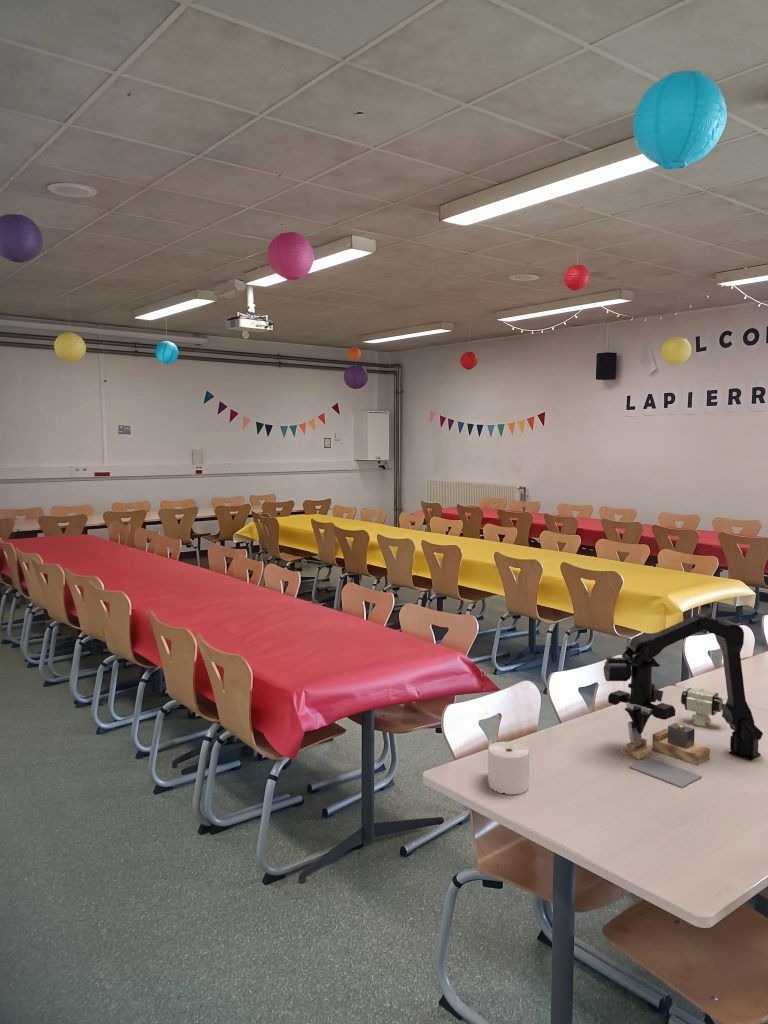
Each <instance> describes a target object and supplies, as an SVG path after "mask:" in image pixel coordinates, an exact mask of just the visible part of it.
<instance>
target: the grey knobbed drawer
mask: <svg viewBox="0 0 768 1024" xmlns="http://www.w3.org/2000/svg"><path fill="white" fill-rule="evenodd" d="M667 729H668V743H671V744H674V745H677V746H680V747H682V748H685V749H688V748H690V747H692V746H694V743H695V728H693V727H691V726H687V725H685V724H683V723H678V722H673V723H672V724H669V725H667Z"/></svg>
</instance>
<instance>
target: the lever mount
mask: <svg viewBox="0 0 768 1024" xmlns="http://www.w3.org/2000/svg"><path fill="white" fill-rule="evenodd" d="M652 752H653V749H652V747H648V746H647V739H645V738H642V745H641V746H639V747H637V748H635V745H634V744H631V743H630V742H628V743H627V744H626V745H624V746H622V747H621V754H623V755H626V756H628V757H631V758H634V759H637V760H639V761H641V760H643V759H645V758H648V757H650V756H651V755H653V754H652Z"/></svg>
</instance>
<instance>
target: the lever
mask: <svg viewBox="0 0 768 1024" xmlns="http://www.w3.org/2000/svg"><path fill="white" fill-rule="evenodd" d="M627 727H628V736H629V741H630V742H629V743H631V744H634V745H635V748H637V747H639V746H641V745H642V739H643V738H642V733H641V734H640V733H638V732H637V729H636V727H635V725H634V723H633V721H632V720H631V721H629V722H627Z"/></svg>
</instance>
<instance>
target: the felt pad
mask: <svg viewBox="0 0 768 1024" xmlns="http://www.w3.org/2000/svg"><path fill="white" fill-rule="evenodd" d="M628 768H629V769H631V770H633V771H636V772H639V773H642V774H644V775H647V776H650V777H652V778H655V779H657V780H660V781H661V782H664V783H667V784H670V785H672V786H674V787H678V788H681V789H684V788H685V787H687V786H689V785H690V784H693V783H694V782H697V781H698V780H701V779H702V778H703V775H700V774H697V773H694V772H691V771H689V770H686V769H683V768H680V767H678V766H674V765H672V764H669V763H667V762H664V761H661V760H658V759H656V758H653V757H651V756H647V757H645V758H643V759H641V760H639V761H637V762H634V763H632V764H630V765H628Z"/></svg>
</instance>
